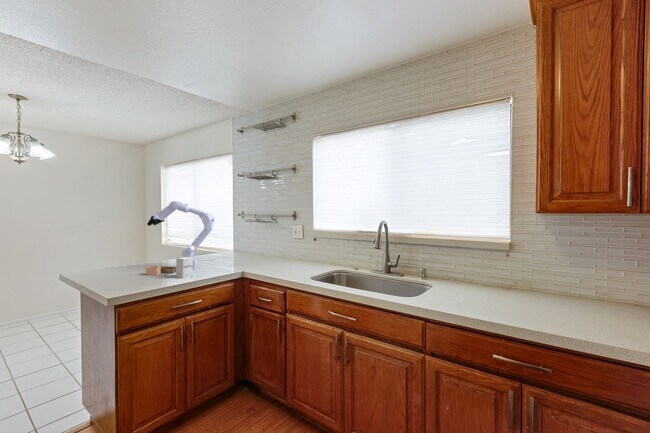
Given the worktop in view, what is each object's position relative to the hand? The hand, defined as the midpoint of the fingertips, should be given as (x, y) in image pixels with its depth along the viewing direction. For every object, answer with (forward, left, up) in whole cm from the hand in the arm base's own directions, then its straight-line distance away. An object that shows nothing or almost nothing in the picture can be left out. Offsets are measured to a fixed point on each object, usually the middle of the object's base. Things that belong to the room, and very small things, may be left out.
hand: (150, 224), depth 221 cm
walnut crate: (-18, +12, -32) cm, 38 cm away
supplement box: (-35, +25, -33) cm, 54 cm away
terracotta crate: (-13, +20, -32) cm, 40 cm away
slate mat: (-15, +15, -32) cm, 39 cm away
